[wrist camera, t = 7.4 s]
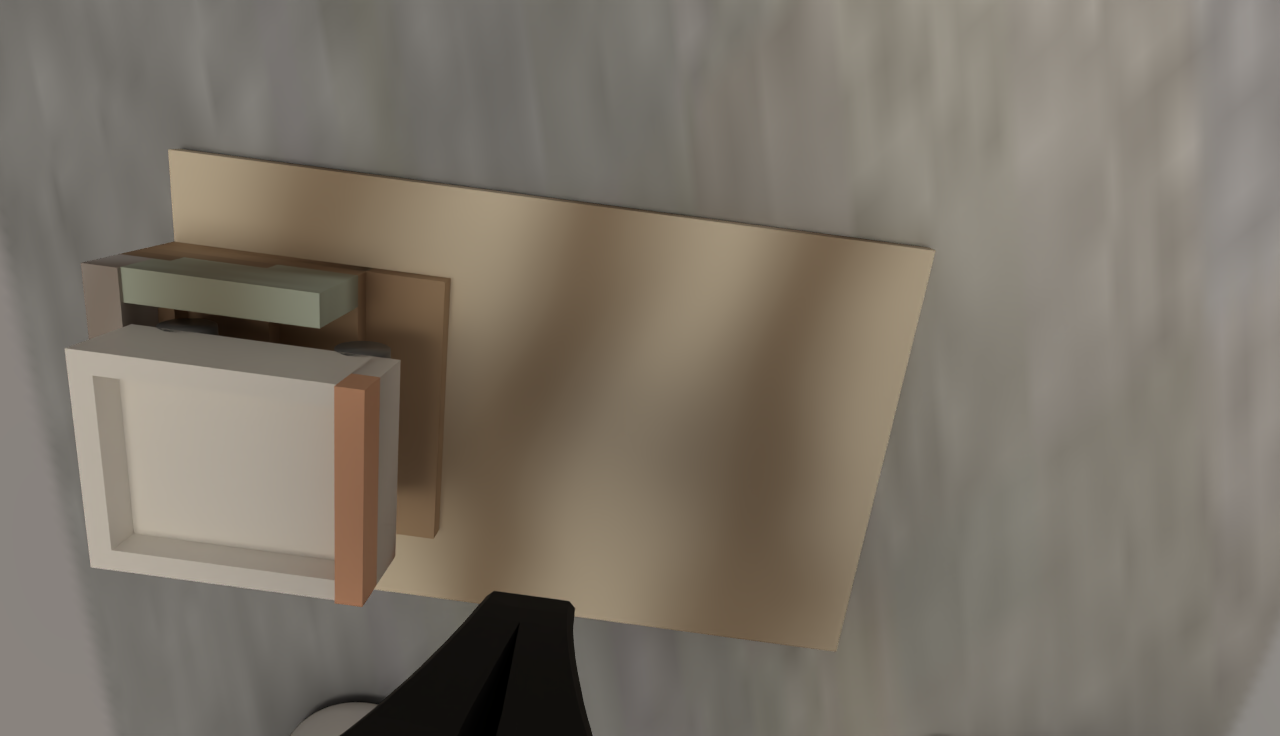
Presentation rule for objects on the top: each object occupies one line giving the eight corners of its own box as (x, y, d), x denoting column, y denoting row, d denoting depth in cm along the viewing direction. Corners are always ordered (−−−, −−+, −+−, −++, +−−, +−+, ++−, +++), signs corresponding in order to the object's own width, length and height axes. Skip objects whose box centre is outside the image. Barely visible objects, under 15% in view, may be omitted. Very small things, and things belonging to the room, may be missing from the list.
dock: (929, 247, 19) (986, 275, 15) (833, 640, 23) (861, 735, 19) (181, 149, 19) (68, 153, 16) (206, 556, 23) (120, 634, 19)
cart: (415, 347, 17) (364, 390, 15) (409, 534, 19) (362, 606, 16) (161, 313, 17) (60, 349, 15) (175, 503, 19) (87, 569, 16)
